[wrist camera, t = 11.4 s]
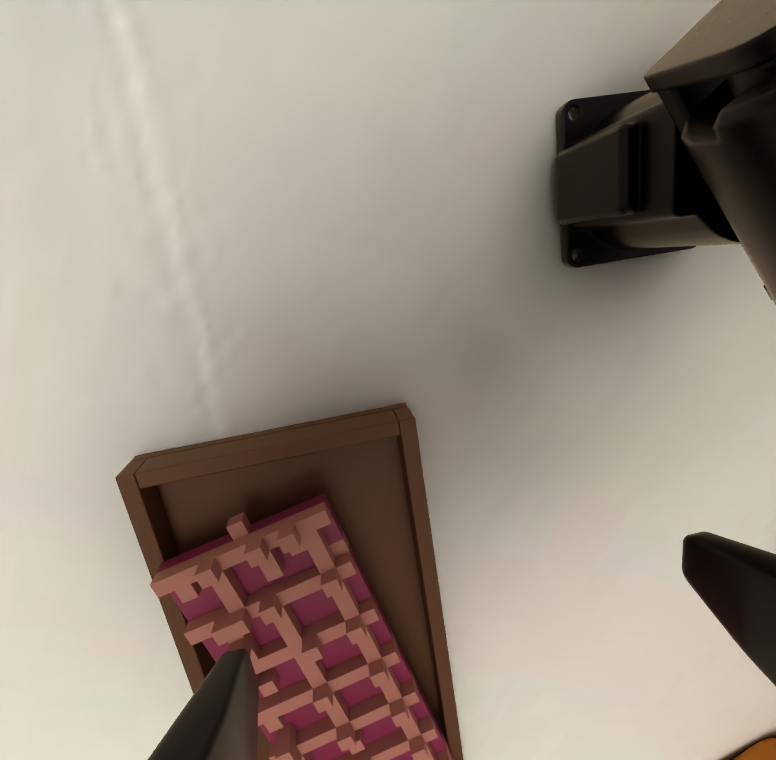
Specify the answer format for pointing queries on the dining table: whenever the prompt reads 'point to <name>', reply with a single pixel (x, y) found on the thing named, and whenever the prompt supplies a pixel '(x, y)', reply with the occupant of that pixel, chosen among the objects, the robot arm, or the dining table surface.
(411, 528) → the tray
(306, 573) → the pink flat grid slab
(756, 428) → the dining table surface
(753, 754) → the coffee package
